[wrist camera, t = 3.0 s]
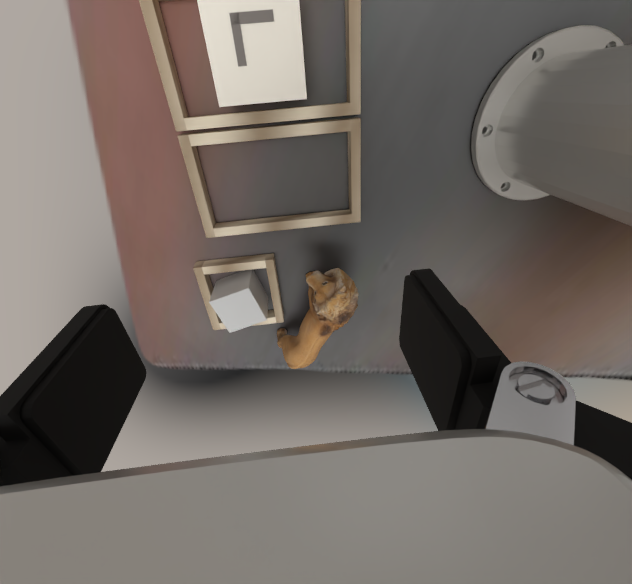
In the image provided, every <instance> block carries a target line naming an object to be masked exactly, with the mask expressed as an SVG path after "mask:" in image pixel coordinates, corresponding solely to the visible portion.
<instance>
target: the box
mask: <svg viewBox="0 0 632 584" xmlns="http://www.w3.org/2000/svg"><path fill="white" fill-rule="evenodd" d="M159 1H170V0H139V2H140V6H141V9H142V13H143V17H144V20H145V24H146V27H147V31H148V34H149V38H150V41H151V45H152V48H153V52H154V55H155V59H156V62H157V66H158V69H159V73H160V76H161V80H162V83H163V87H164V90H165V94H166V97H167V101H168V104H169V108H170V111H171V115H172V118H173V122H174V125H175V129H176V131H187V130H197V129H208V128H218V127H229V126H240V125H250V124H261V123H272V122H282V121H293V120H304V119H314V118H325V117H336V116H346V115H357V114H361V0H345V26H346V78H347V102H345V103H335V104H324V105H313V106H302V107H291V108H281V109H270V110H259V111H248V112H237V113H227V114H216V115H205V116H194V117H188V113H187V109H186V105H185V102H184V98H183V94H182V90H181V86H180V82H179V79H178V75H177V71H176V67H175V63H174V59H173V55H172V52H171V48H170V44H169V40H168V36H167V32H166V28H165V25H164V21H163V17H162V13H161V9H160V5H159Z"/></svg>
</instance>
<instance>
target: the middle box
mask: <svg viewBox="0 0 632 584" xmlns="http://www.w3.org/2000/svg"><path fill="white" fill-rule="evenodd" d="M347 131H348V181H349V209H347V210H337V211H328V212H318V213H308V214H299V215H289V216H279V217H270V218H260V219H250V220H241V221H231V222H221V223H216V221H215V217H214V213H213V209H212V206H211V202H210V198H209V194H208V190H207V186H206V182H205V179H204V175H203V171H202V167H201V163H200V159H199V156H198V152H197V148H196V146H200V145H211V144H221V143H232V142H242V141H253V140H263V139H274V138H284V137H295V136H305V135H316V134H326V133H337V132H347ZM178 140H179V143H180V147H181V150H182V154H183V157H184V161H185V164H186V168H187V171H188V175H189V178H190V182H191V185H192V189H193V192H194V196H195V199H196V203H197V206H198V210H199V213H200V217H201V220H202V224H203V227H204V231H205V234H206V238H211V237H220V236H230V235H240V234H249V233H259V232H268V231H278V230H287V229H297V228H306V227H316V226H326V225H335V224H345V223H354V222H361V119H360V118H358V117H355V118H344V119H334V120H323V121H313V122H302V123H291V124H281V125H270V126H259V127H249V128H238V129H228V130H217V131H206V132H196V133H185V134H181V135H178Z"/></svg>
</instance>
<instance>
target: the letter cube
mask: <svg viewBox="0 0 632 584" xmlns="http://www.w3.org/2000/svg"><path fill="white" fill-rule="evenodd" d="M197 3H198V7H199V12H200V17H201V22H202V26H203V31H204V36H205V41H206V45H207V50H208V55H209V60H210V65H211V69H212V74H213V79H214V84H215V88H216V93H217V98H218V103H219V107H225V106H236V105H247V104H258V103H269V102H280V101H291V100H301V99H307V94H306V81H305V68H304V55H303V43H302V30H301V17H300V5H299V0H197Z"/></svg>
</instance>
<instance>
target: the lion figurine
mask: <svg viewBox="0 0 632 584" xmlns="http://www.w3.org/2000/svg"><path fill="white" fill-rule="evenodd" d="M306 282H307V283H308V285H309V290H308V296H309V304H310V309H309V310H308V312H307V314H306V316H305V318H304V319H303V321H302V324H301V326H300V330H299V334H298V335H297V336H292V335H287V330H286V329H285V328H280V329H278V331H277V338H278V342H277V343H278V346H279V347H280V348H282V349H283V354H284V358H285V360H286V362H287V364H288V366H289V367H290V368H292V369H297V368H304V367H306V366H308V365H310V364H311V363H313V362H314V360H315V359H316V357H317V355H318V353H319V351H320V349H321V347H322V346H323V345H324V343H325V342H326V340H327V339H328V338H329V336H330V335H331V334H332V332H334V330H338V328H339V327H343V325H344V324H346V323H348V321H349V319H350V318H351V317H352V316H353V314H354V311H355V309H356V308H357V306H358V305H357V301H358V295H359V294H358V289H357V288H356V286H355V284H354V281H353V280H352V279H351V278H350V277H349V276H348V275H347V274H346V273H345V272H344V271H343V270H341V269H339V268H335V269H331V270H329V271H327V272H325V273H322V272H320V271H313V272H309V273H307V274H306Z"/></svg>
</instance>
